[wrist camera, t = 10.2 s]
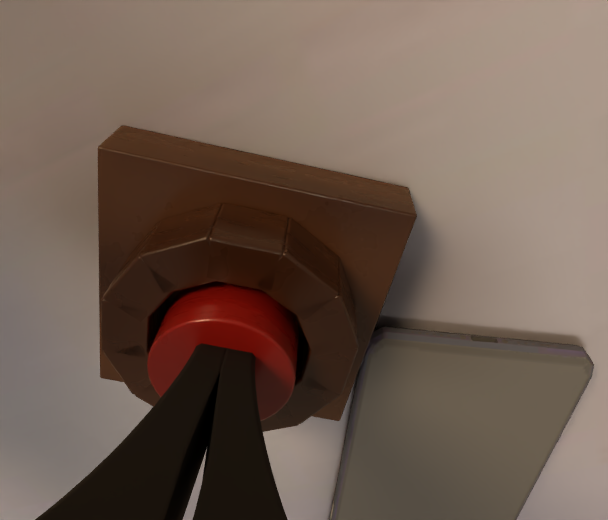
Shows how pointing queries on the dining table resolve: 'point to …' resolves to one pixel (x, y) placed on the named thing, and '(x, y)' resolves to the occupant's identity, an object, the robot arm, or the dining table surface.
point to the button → (229, 338)
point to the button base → (244, 254)
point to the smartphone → (454, 424)
